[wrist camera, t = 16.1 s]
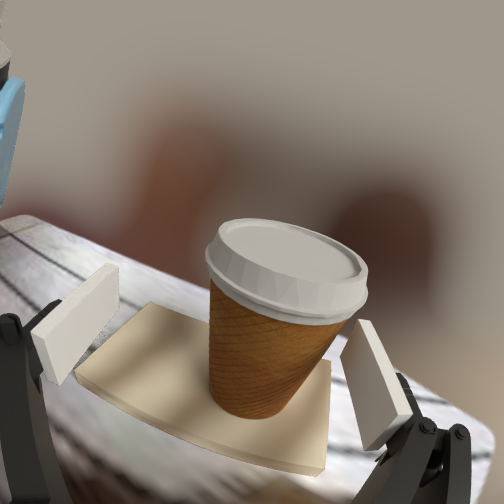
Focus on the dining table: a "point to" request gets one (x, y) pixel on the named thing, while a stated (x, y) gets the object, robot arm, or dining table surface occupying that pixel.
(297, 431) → the serving board
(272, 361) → the disposable coffee cup
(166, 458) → the dining table surface
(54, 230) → the dining table surface
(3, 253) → the dining table surface
